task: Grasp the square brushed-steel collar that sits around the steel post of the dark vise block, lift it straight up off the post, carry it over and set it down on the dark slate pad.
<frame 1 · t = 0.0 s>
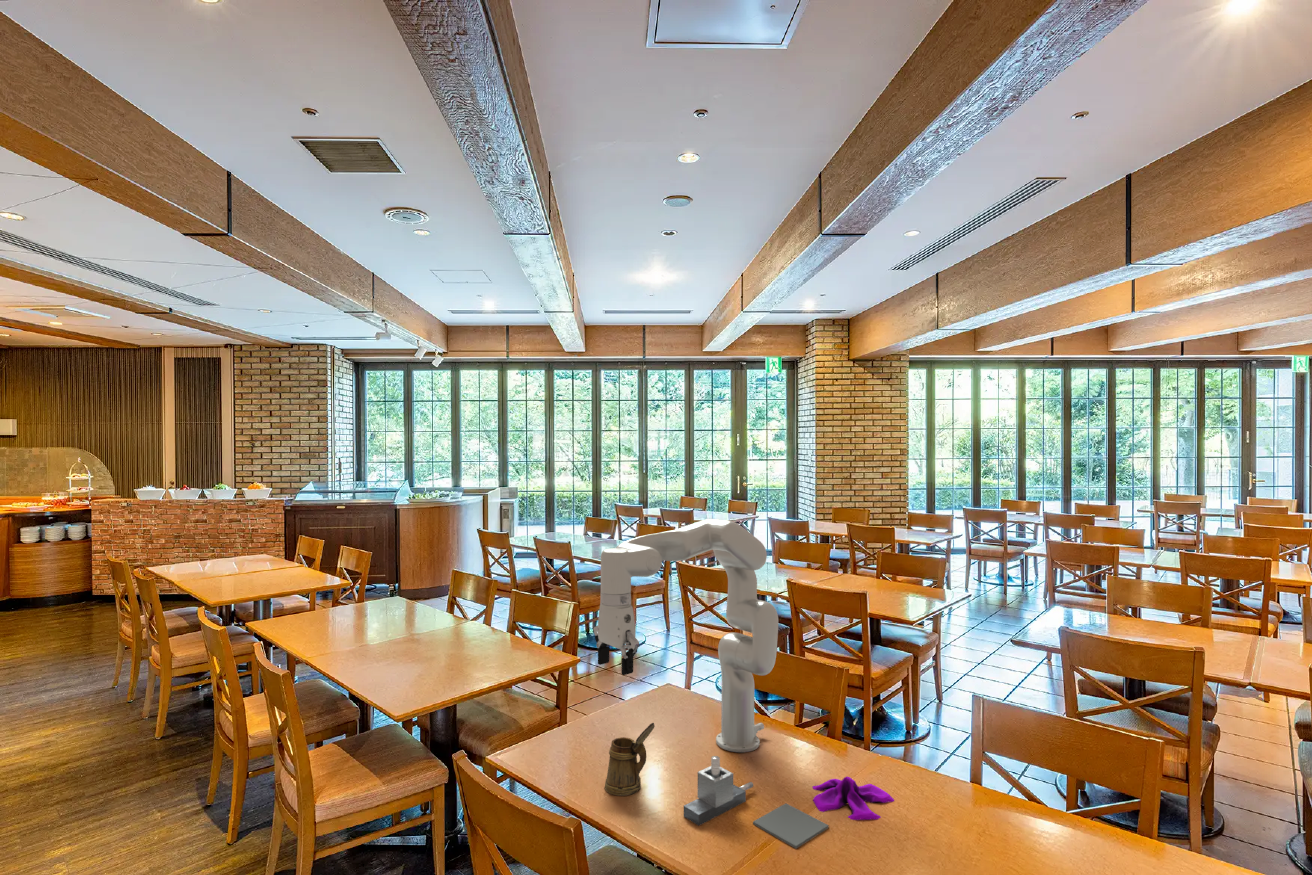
hand: (615, 668, 160), 31 cm above the table, fingers open, 9 cm apart
steel collar: (715, 797, 154), point 2 cm above the table, touching vise block
vise block: (715, 808, 154), on the table
wooden mug: (630, 790, 162), on the table
slate pad: (790, 825, 147), on the table
cloth: (844, 800, 159), on the table
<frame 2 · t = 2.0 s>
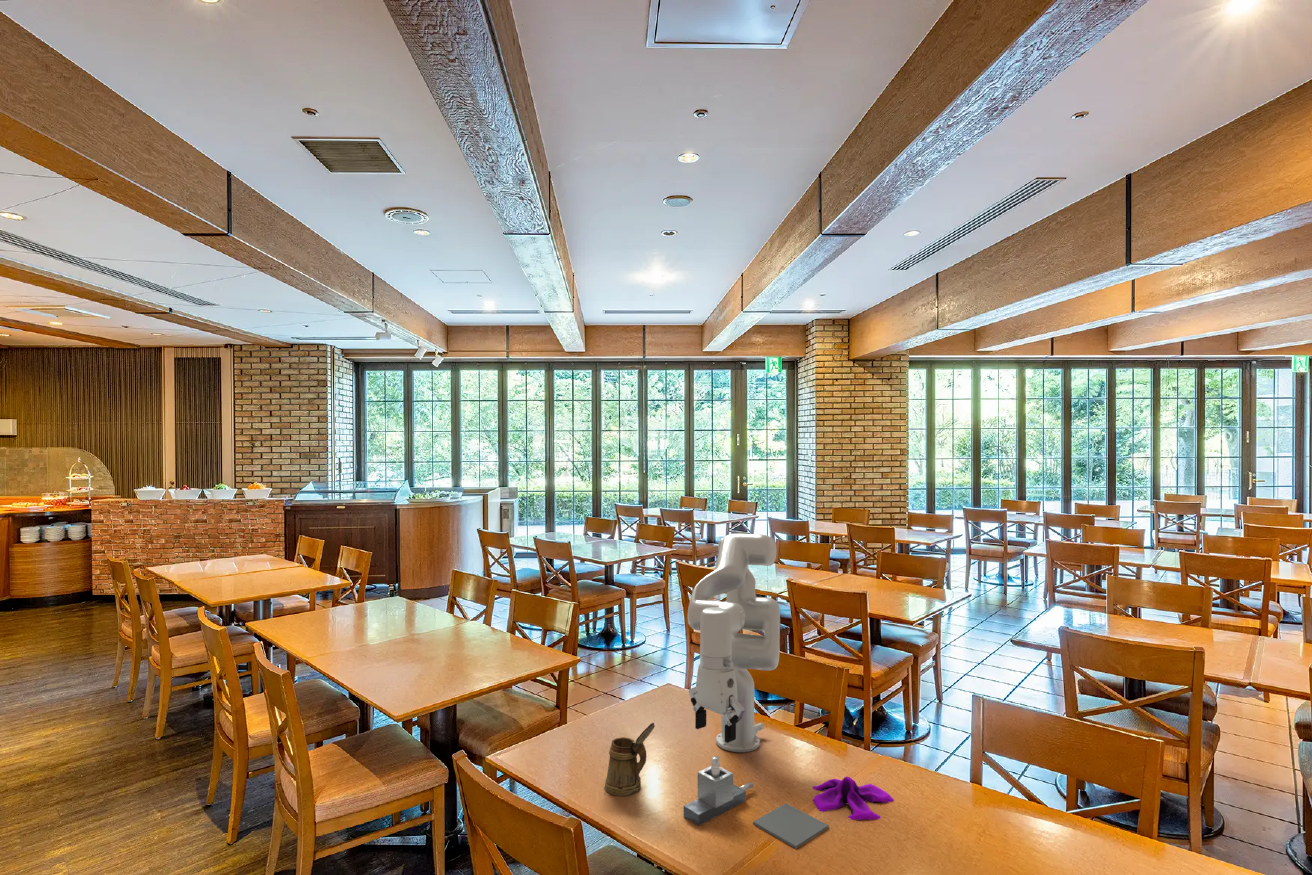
hand: (715, 733, 154), 18 cm above the table, fingers open, 9 cm apart
nothing on the table moved.
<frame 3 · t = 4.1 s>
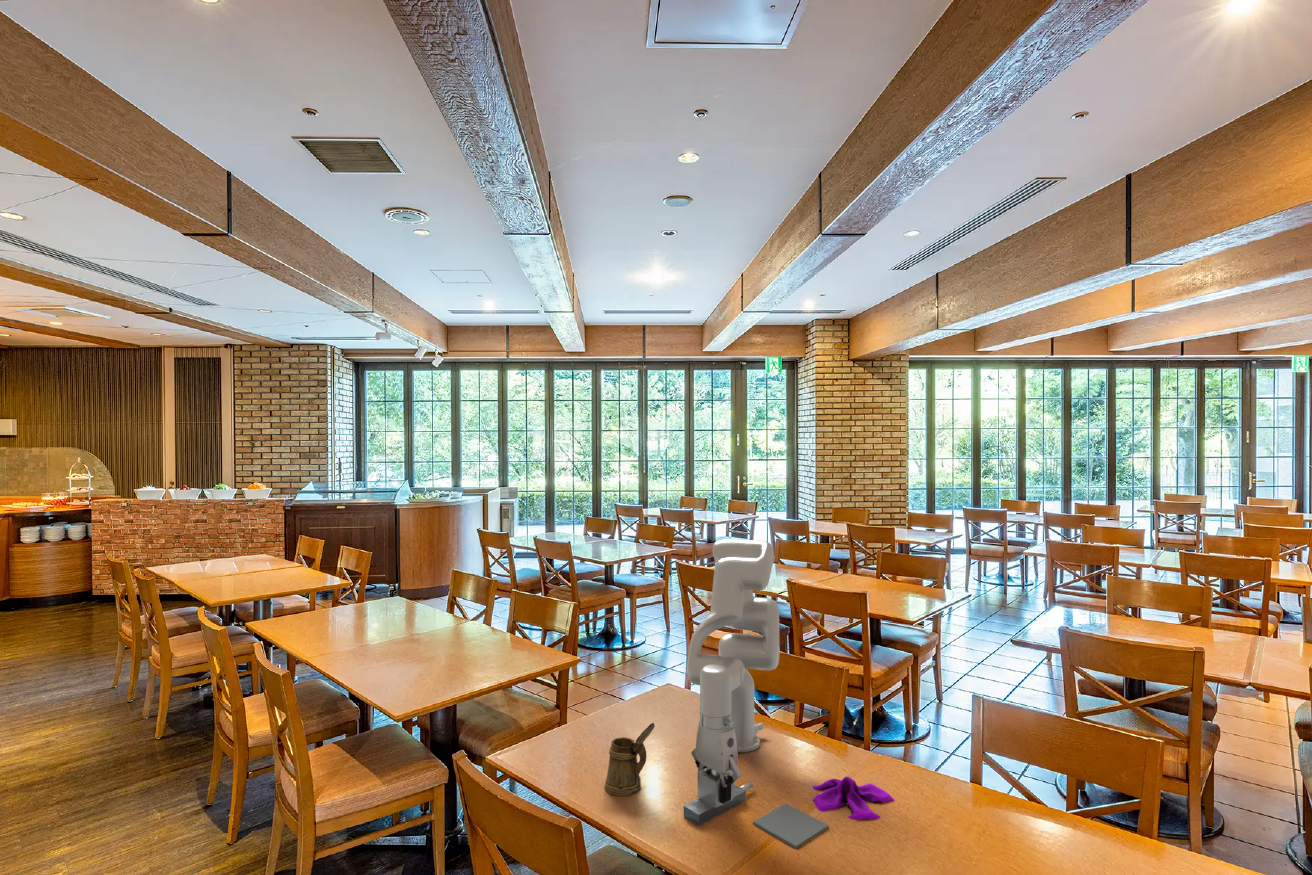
hand: (715, 794, 154), 3 cm above the table, fingers closed on steel collar, 6 cm apart
steel collar: (715, 797, 154), point 3 cm above the table, touching gripper, vise block
everything else where it was.
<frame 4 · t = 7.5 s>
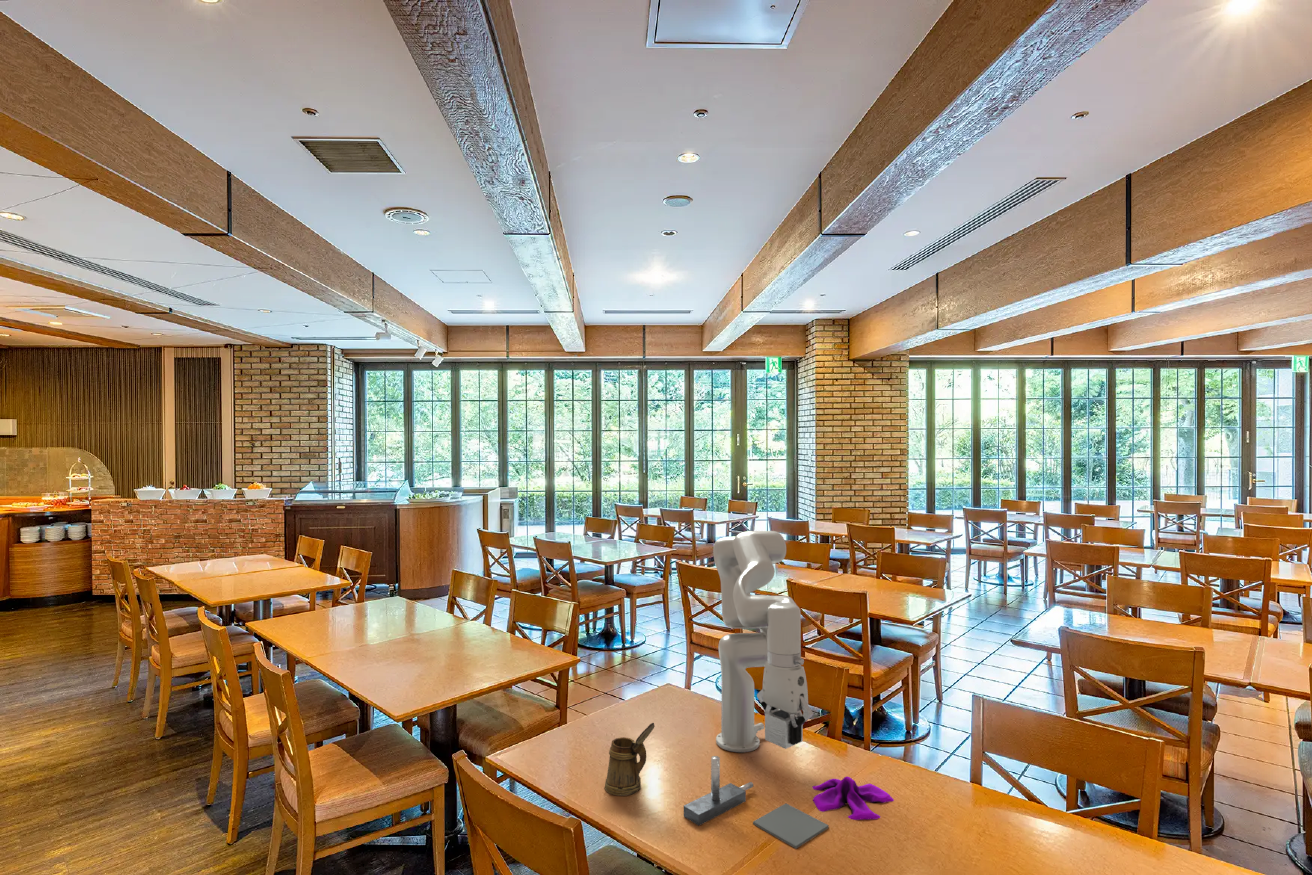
hand: (784, 736, 148), 20 cm above the table, fingers closed on steel collar, 6 cm apart
steel collar: (783, 740, 148), point 19 cm above the table, touching gripper
everything else where it was.
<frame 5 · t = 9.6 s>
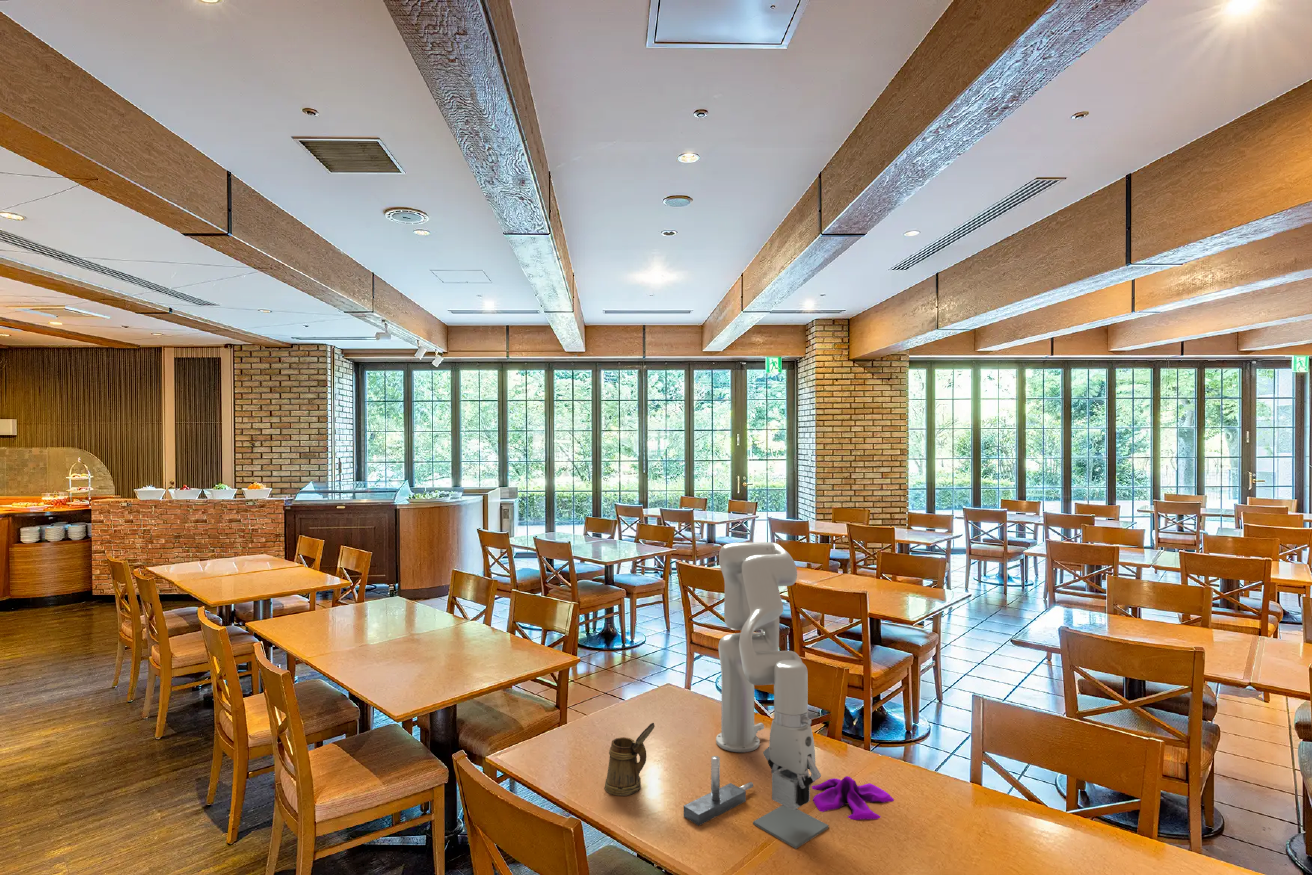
hand: (791, 796, 147), 7 cm above the table, fingers closed on steel collar, 6 cm apart
steel collar: (790, 800, 147), point 6 cm above the table, touching gripper
everything else where it was.
when the fingers open (3 cm above the table, at t = 11.2 s): steel collar drops 2 cm, resting on slate pad.
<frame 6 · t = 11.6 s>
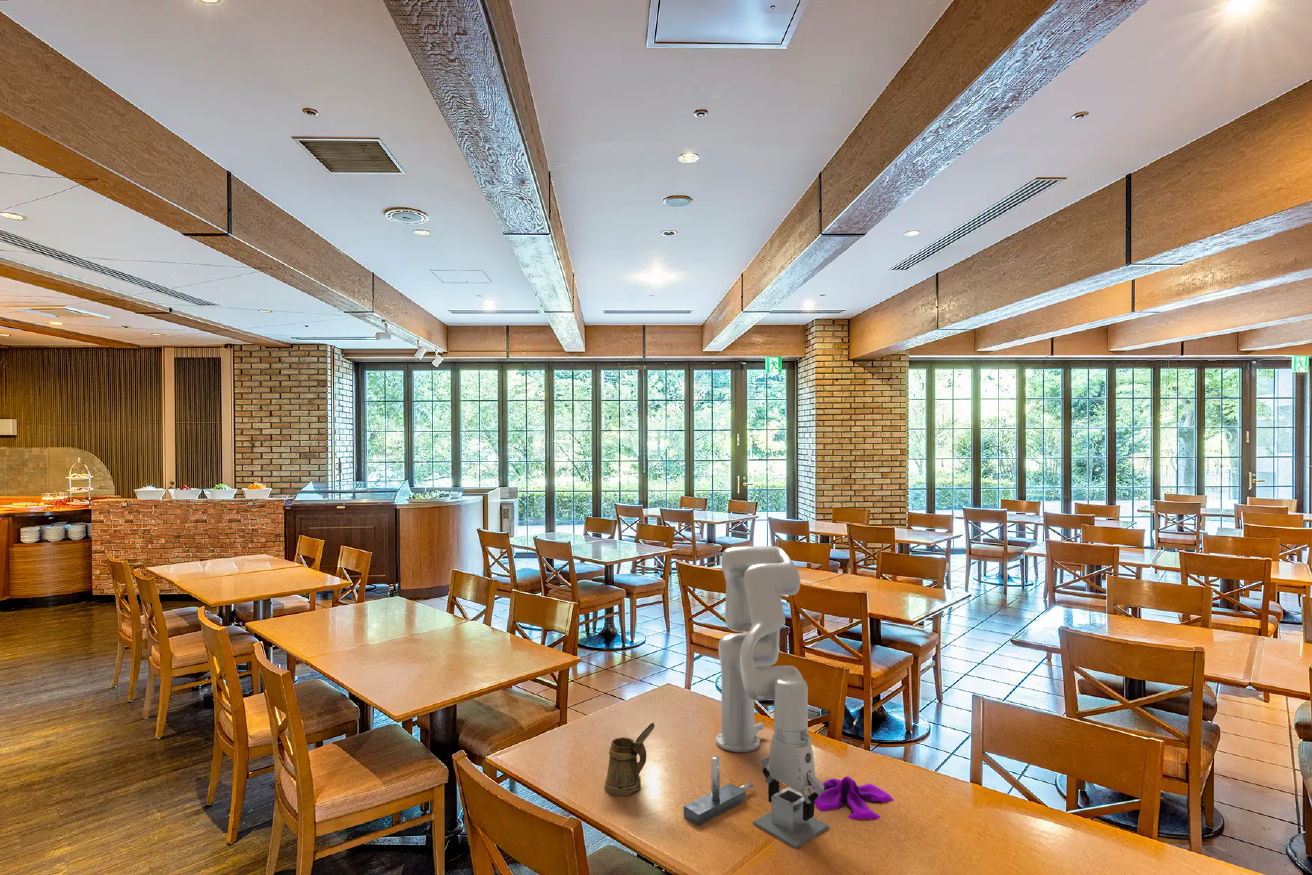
hand: (790, 808, 147), 4 cm above the table, fingers open, 9 cm apart
steel collar: (790, 823, 147), point 1 cm above the table, touching slate pad
everything else where it was.
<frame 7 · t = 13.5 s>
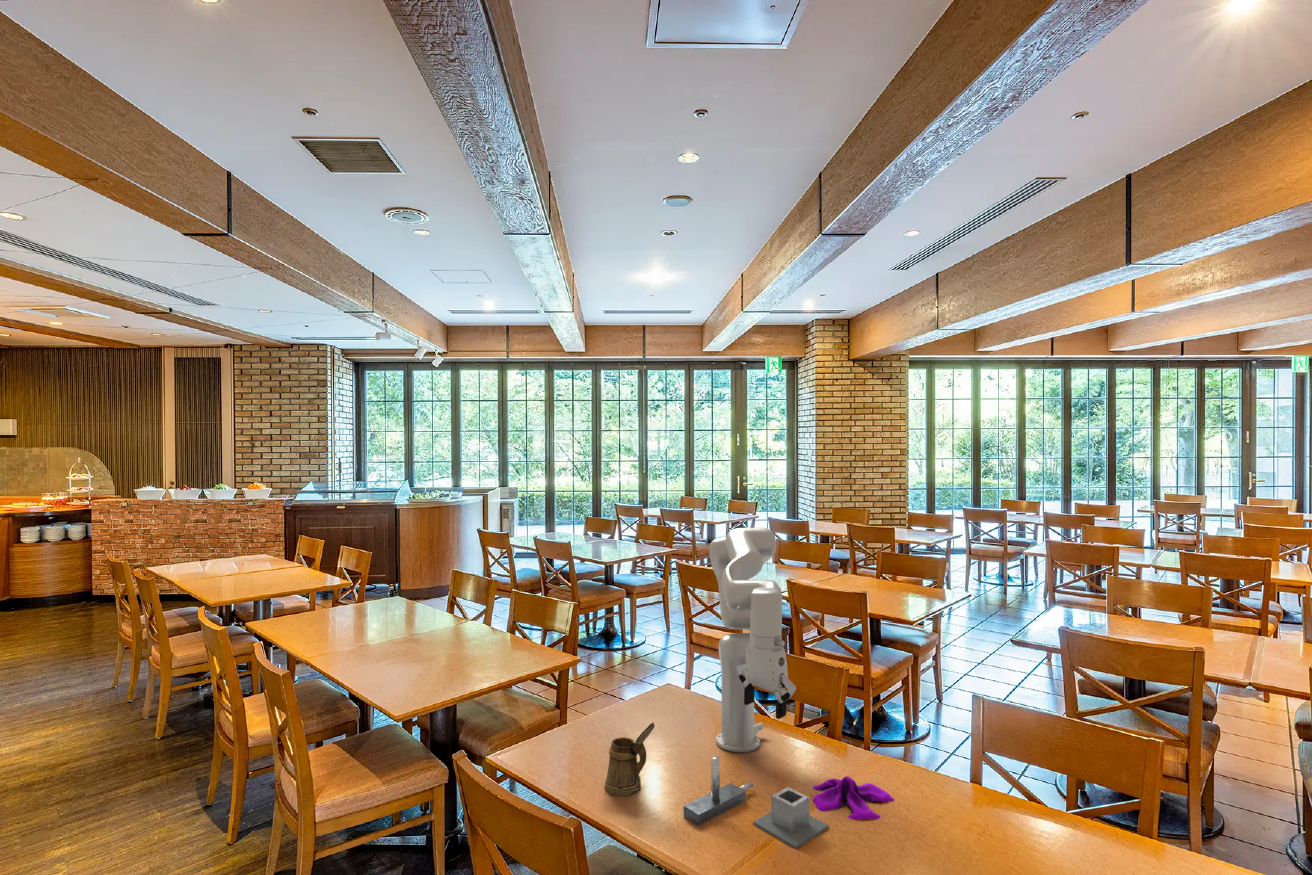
hand: (764, 710, 156), 23 cm above the table, fingers open, 9 cm apart
nothing on the table moved.
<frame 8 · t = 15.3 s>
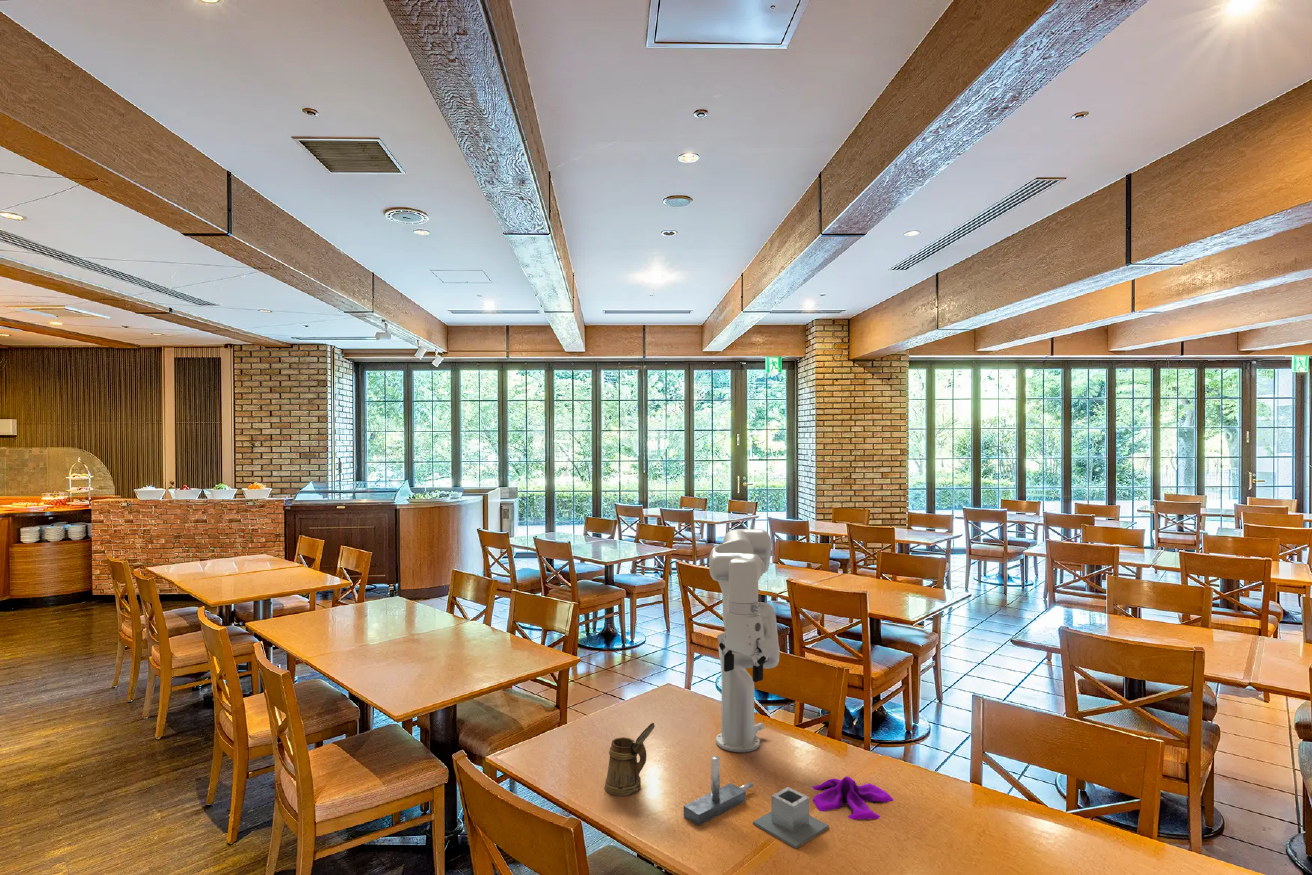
hand: (743, 675, 164), 28 cm above the table, fingers open, 9 cm apart
nothing on the table moved.
at the end: steel collar inside the target area on the slate pad (0.1 cm from its centre), point 0.6 cm above the slate pad's base; steel collar tilted 0°; the gripper is holding nothing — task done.
